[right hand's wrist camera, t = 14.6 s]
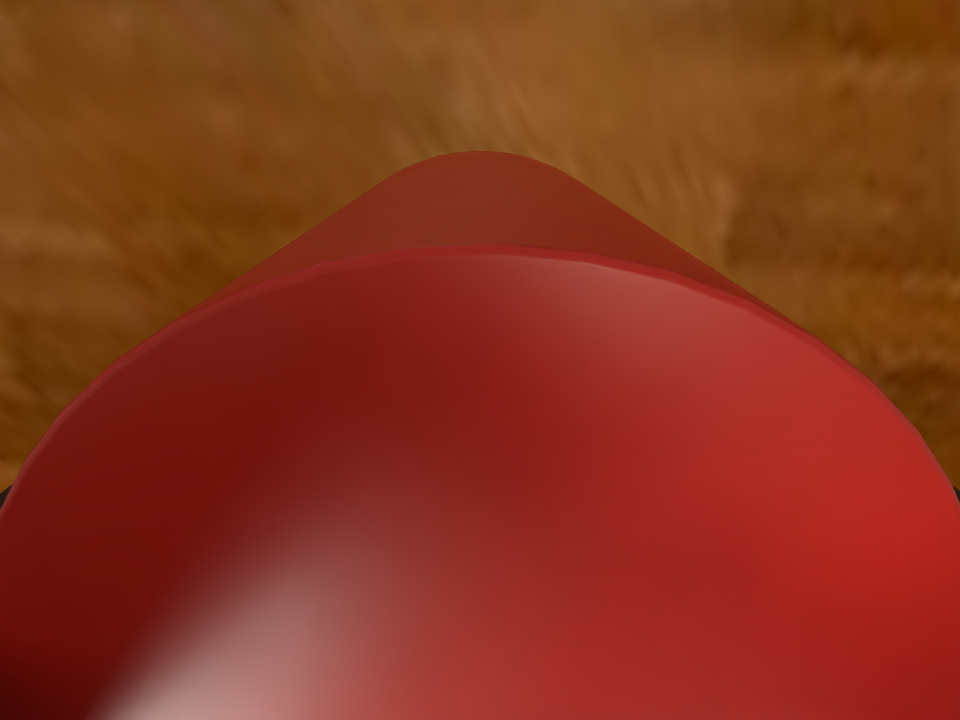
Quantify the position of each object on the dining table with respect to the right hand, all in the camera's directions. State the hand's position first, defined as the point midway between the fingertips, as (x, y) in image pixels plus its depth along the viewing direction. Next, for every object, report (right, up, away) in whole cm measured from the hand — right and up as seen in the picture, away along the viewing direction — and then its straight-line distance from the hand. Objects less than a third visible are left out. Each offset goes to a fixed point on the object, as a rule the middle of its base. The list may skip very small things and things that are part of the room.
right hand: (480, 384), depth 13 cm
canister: (0, +1, +4) cm, 4 cm away
